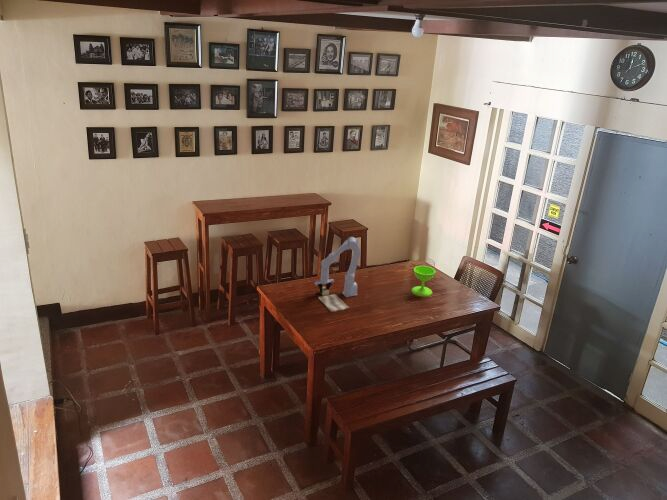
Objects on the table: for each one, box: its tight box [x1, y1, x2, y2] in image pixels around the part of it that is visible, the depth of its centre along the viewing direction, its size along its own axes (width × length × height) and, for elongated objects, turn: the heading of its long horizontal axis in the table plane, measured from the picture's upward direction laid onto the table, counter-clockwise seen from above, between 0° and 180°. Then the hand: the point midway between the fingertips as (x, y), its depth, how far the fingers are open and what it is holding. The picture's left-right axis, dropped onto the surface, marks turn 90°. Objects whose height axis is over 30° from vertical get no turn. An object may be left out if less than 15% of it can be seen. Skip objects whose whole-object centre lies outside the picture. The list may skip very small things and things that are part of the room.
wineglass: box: [410, 265, 436, 297], centre depth 399 cm, size 16×16×18 cm
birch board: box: [317, 293, 350, 313], centre depth 378 cm, size 14×22×1 cm, turn 26°
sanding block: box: [318, 285, 330, 297], centre depth 390 cm, size 8×4×4 cm, turn 26°
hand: (323, 292), depth 391 cm, fingers closed on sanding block, 4 cm apart
